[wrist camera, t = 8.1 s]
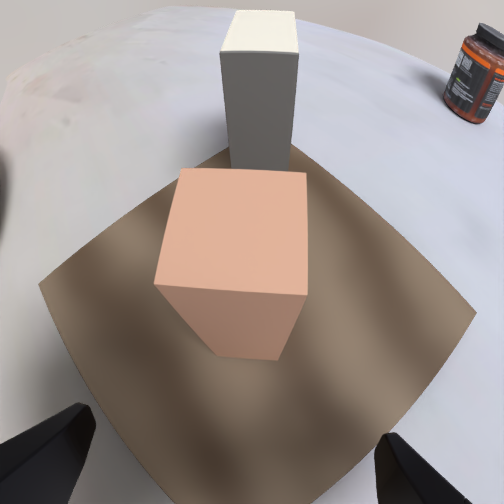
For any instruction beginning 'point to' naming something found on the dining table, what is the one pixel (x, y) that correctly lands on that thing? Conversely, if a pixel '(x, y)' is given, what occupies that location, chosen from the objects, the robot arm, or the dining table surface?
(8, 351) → the dining table surface
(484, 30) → the supplement bottle
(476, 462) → the dining table surface
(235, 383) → the brown square mat
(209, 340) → the salmon pink tall block
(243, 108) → the white rectangular block
